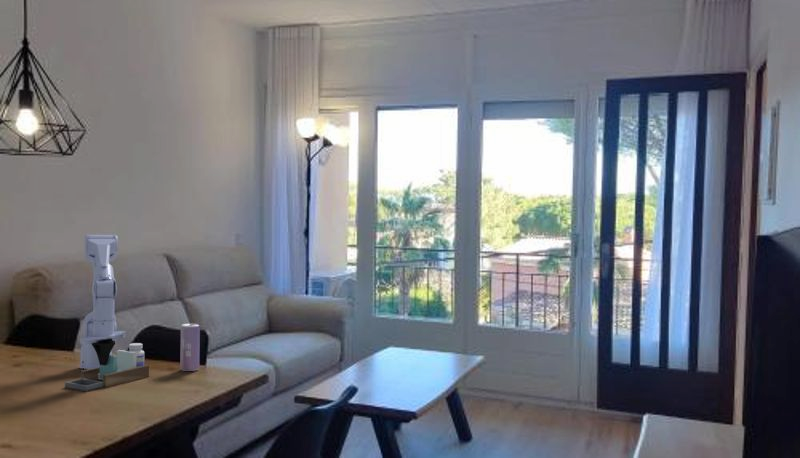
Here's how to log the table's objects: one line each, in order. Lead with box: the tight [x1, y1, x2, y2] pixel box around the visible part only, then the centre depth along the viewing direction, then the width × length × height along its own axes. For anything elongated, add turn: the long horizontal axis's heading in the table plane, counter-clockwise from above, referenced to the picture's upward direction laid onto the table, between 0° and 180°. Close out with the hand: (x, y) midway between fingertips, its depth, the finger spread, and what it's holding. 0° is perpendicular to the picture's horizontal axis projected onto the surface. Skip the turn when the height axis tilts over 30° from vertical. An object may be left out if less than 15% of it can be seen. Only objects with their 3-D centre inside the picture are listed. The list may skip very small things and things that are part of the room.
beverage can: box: [179, 323, 201, 372], centre depth 218 cm, size 6×6×15 cm
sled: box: [98, 349, 137, 381], centre depth 204 cm, size 7×8×8 cm
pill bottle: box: [128, 342, 145, 367], centre depth 210 cm, size 5×5×10 cm
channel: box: [80, 364, 150, 388], centre depth 203 cm, size 11×16×4 cm
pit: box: [64, 378, 105, 393], centre depth 194 cm, size 9×6×2 cm, turn 63°
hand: (103, 364), depth 199 cm, fingers closed
